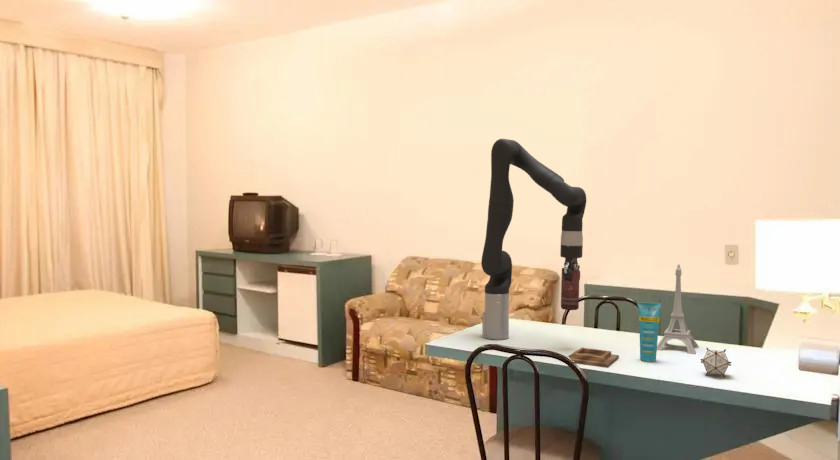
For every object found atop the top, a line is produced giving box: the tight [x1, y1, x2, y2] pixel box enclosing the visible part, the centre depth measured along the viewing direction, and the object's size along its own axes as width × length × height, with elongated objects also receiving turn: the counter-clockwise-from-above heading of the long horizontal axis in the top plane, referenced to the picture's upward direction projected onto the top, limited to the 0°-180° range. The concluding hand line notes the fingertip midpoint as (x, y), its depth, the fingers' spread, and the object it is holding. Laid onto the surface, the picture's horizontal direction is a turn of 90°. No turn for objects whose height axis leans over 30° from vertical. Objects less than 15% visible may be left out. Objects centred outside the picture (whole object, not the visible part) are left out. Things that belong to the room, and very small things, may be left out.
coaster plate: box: [567, 347, 620, 369], centre depth 209 cm, size 14×14×2 cm
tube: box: [636, 301, 662, 363], centre depth 208 cm, size 7×5×19 cm, turn 73°
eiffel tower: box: [657, 264, 700, 355], centre depth 225 cm, size 13×13×30 cm
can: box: [560, 269, 581, 311], centre depth 223 cm, size 6×6×14 cm
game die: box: [700, 347, 732, 378], centre depth 190 cm, size 9×8×10 cm
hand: (570, 292), depth 223 cm, fingers closed
